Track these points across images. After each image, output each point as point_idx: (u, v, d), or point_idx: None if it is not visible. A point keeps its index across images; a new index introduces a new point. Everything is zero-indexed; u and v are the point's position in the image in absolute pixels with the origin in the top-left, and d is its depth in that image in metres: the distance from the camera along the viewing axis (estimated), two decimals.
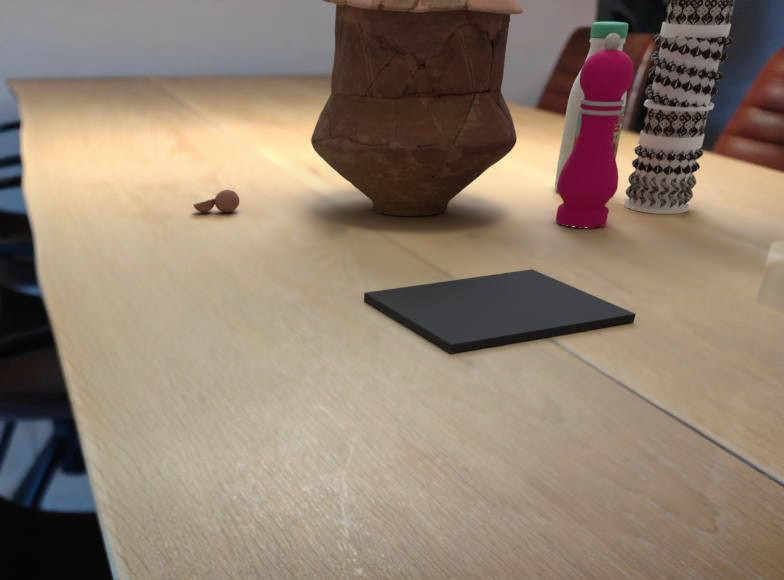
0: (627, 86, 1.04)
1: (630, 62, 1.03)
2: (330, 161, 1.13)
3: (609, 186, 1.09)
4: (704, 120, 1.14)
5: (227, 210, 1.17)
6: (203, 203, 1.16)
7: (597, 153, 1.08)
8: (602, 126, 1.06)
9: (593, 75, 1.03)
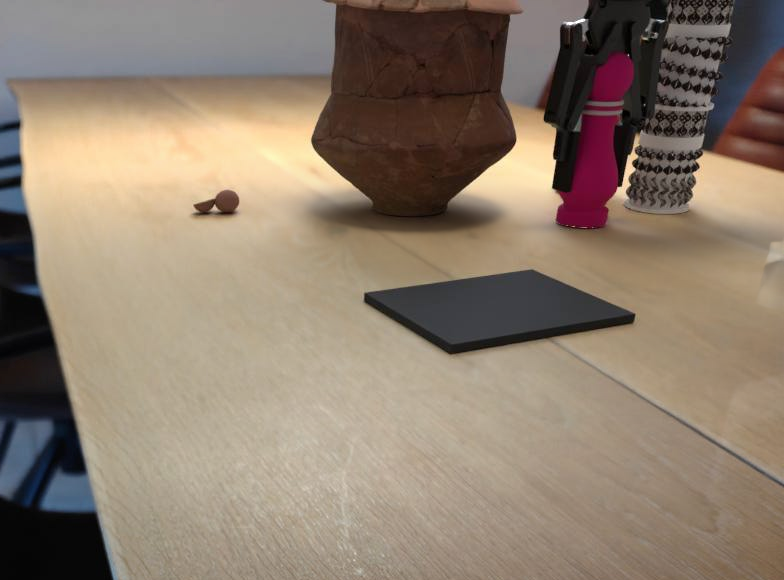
0: (627, 86, 1.04)
1: (630, 62, 1.03)
2: (330, 161, 1.13)
3: (610, 186, 1.09)
4: (704, 120, 1.14)
5: (227, 210, 1.17)
6: (203, 203, 1.16)
7: (597, 154, 1.08)
8: (602, 126, 1.06)
9: None
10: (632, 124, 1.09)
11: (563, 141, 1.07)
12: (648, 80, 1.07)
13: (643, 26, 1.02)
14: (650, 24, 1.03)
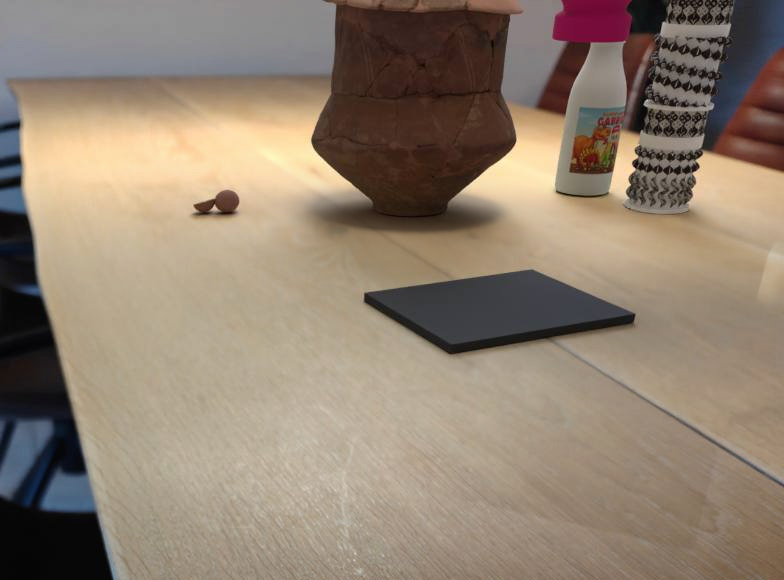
0: None
1: None
2: (330, 161, 1.13)
3: None
4: (704, 120, 1.14)
5: (227, 210, 1.17)
6: (203, 203, 1.16)
7: None
8: None
9: None
10: None
11: None
12: None
13: None
14: None
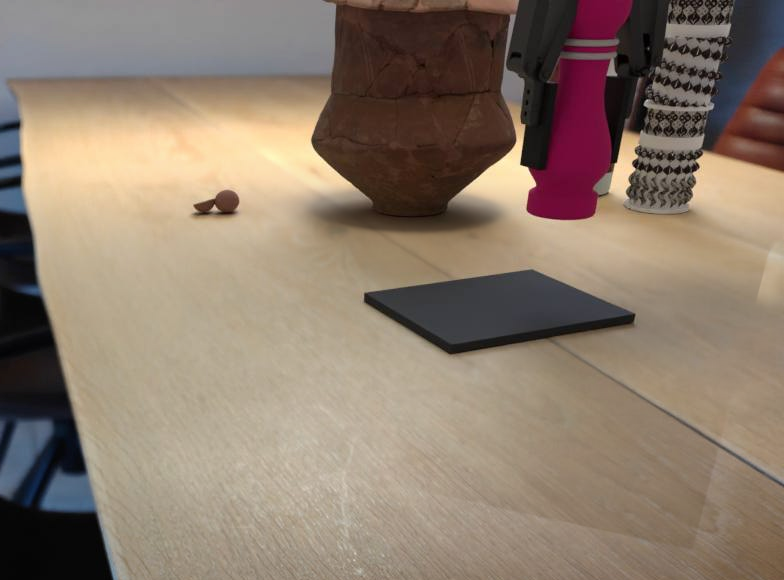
0: (623, 17, 0.73)
1: None
2: (330, 161, 1.13)
3: (599, 161, 0.79)
4: (704, 120, 1.14)
5: (227, 210, 1.17)
6: (203, 203, 1.16)
7: (582, 115, 0.77)
8: (588, 75, 0.76)
9: None
10: (631, 75, 0.78)
11: (534, 97, 0.76)
12: (654, 11, 0.76)
13: None
14: None
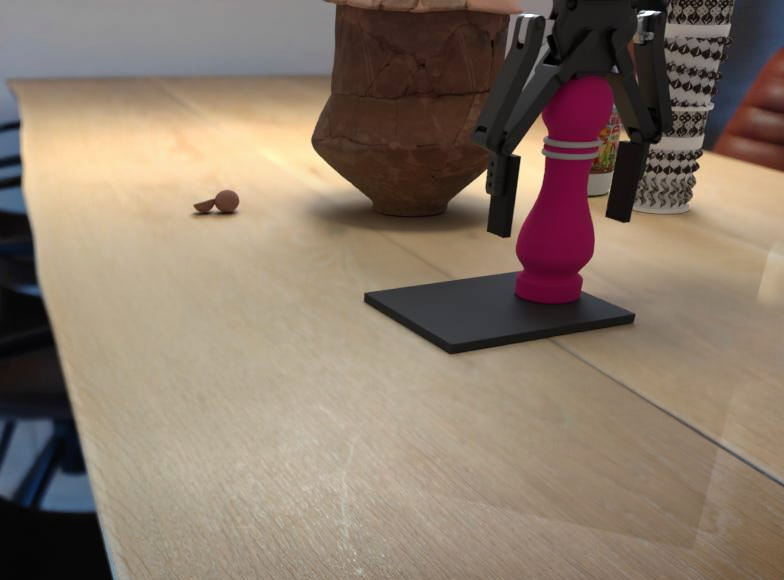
0: (605, 121, 0.78)
1: (608, 90, 0.77)
2: (330, 161, 1.13)
3: (583, 251, 0.83)
4: (704, 120, 1.14)
5: (227, 210, 1.17)
6: (203, 203, 1.16)
7: (566, 209, 0.81)
8: (572, 174, 0.80)
9: (559, 107, 0.77)
10: (645, 142, 0.82)
11: (498, 169, 0.78)
12: (655, 90, 0.80)
13: (630, 34, 0.76)
14: (640, 24, 0.76)
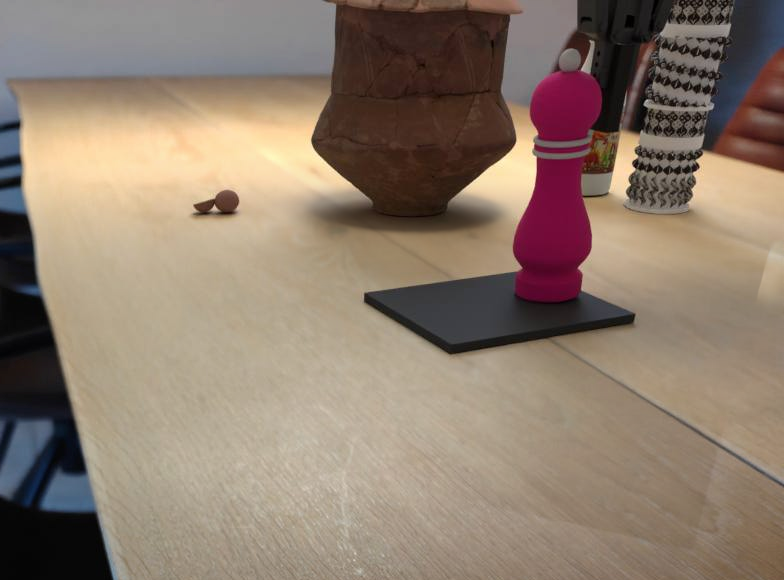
0: (594, 118, 0.77)
1: (595, 86, 0.76)
2: (330, 161, 1.13)
3: (580, 248, 0.83)
4: (704, 120, 1.14)
5: (227, 210, 1.17)
6: (203, 203, 1.16)
7: (560, 208, 0.81)
8: (564, 172, 0.80)
9: (546, 108, 0.76)
10: (633, 38, 0.76)
11: (604, 59, 0.77)
12: None
13: None
14: None
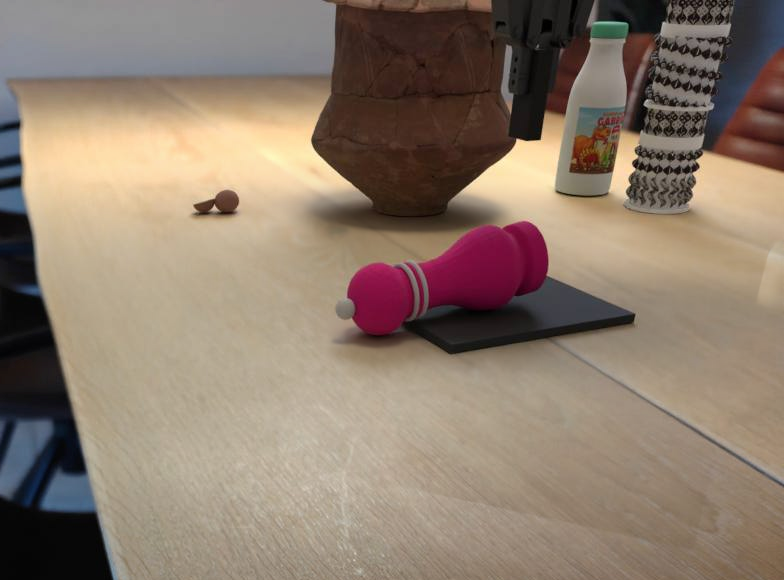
0: (402, 301, 0.78)
1: (376, 303, 0.77)
2: (330, 161, 1.13)
3: (507, 282, 0.80)
4: (704, 120, 1.14)
5: (227, 210, 1.17)
6: (203, 203, 1.16)
7: (464, 301, 0.81)
8: (435, 304, 0.81)
9: None
10: (551, 43, 0.74)
11: (522, 64, 0.74)
12: None
13: None
14: None
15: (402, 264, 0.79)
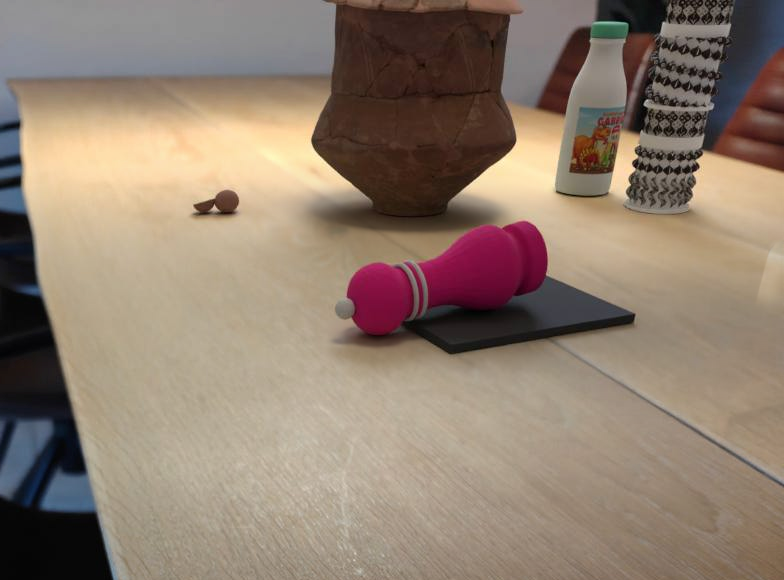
0: (402, 300, 0.78)
1: (376, 302, 0.77)
2: (330, 161, 1.13)
3: (507, 281, 0.80)
4: (704, 120, 1.14)
5: (227, 210, 1.17)
6: (203, 203, 1.16)
7: (463, 301, 0.81)
8: (435, 304, 0.81)
9: None
10: None
11: None
12: None
13: None
14: None
15: (401, 264, 0.79)
